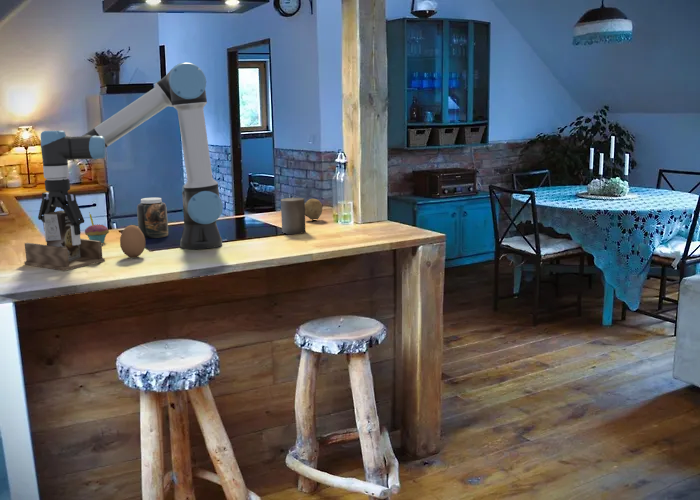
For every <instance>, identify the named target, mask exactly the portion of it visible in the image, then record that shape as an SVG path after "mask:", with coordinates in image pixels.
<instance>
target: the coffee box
mask: <svg viewBox="0 0 700 500" xmlns="http://www.w3.org/2000/svg"><path fill="white" fill-rule="evenodd" d="M44 218H45V230H46V241H47V242H46V241H45V242H46V245H49V246H56V247H64V248H67V250H68V260H69V261H71V260H74V259H77V258H80V245H72V236H71V224H72V223H71V221H70V220H69V218H68V216H67V215H66V213H65V212H64V210H58V211H56V210H55V211H54V212H51V213H47V214H44Z"/></svg>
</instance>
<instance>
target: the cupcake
mask: <svg viewBox="0 0 700 500" xmlns="http://www.w3.org/2000/svg"><path fill="white" fill-rule="evenodd" d="M88 213H89V218H90V223H91V225H89V226H88V227H86V228H85V229H84V234H85V235H86V236H87V238H88V240H96V241H101V244H104V243H105V240H106V236H107V235H108V234H109V233H110V231H109V228H108V226H105V225H103V224H94V220H93V216H92V214H91V212H88Z"/></svg>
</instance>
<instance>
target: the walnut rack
mask: <svg viewBox="0 0 700 500" xmlns="http://www.w3.org/2000/svg"><path fill="white" fill-rule="evenodd" d="M80 240H81V244H79V245H80V258H77V259H74V260H71V261H69V260H68V250H67V248H64V247H56V246H49V245H47V244H42V243H41V244H40V243H33V242H24V251H25V261H23V262H24V263H23V264H24V265H25V266H32V267H37V268H43V269H44V268H45V269H50V270H57V271H63V272H64V271H68V270H69V271H70V270H74V269H77V268H81V267H86V266H90V265H95V264H99V263H103V262H105V258H104V257H103V250H102V249H103V248H102V243H101V241H96V240H89V238H88V239H87V238H80Z"/></svg>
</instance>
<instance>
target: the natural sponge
mask: <svg viewBox="0 0 700 500" xmlns="http://www.w3.org/2000/svg"><path fill="white" fill-rule="evenodd" d="M322 214H323V203H322V202H321V201H320V200H319V199H316V198H310V199H308V200H306V201H305V217H307V218H308V219H310V220H311V219H317V220H319V218H320V217H321V215H322Z"/></svg>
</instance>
